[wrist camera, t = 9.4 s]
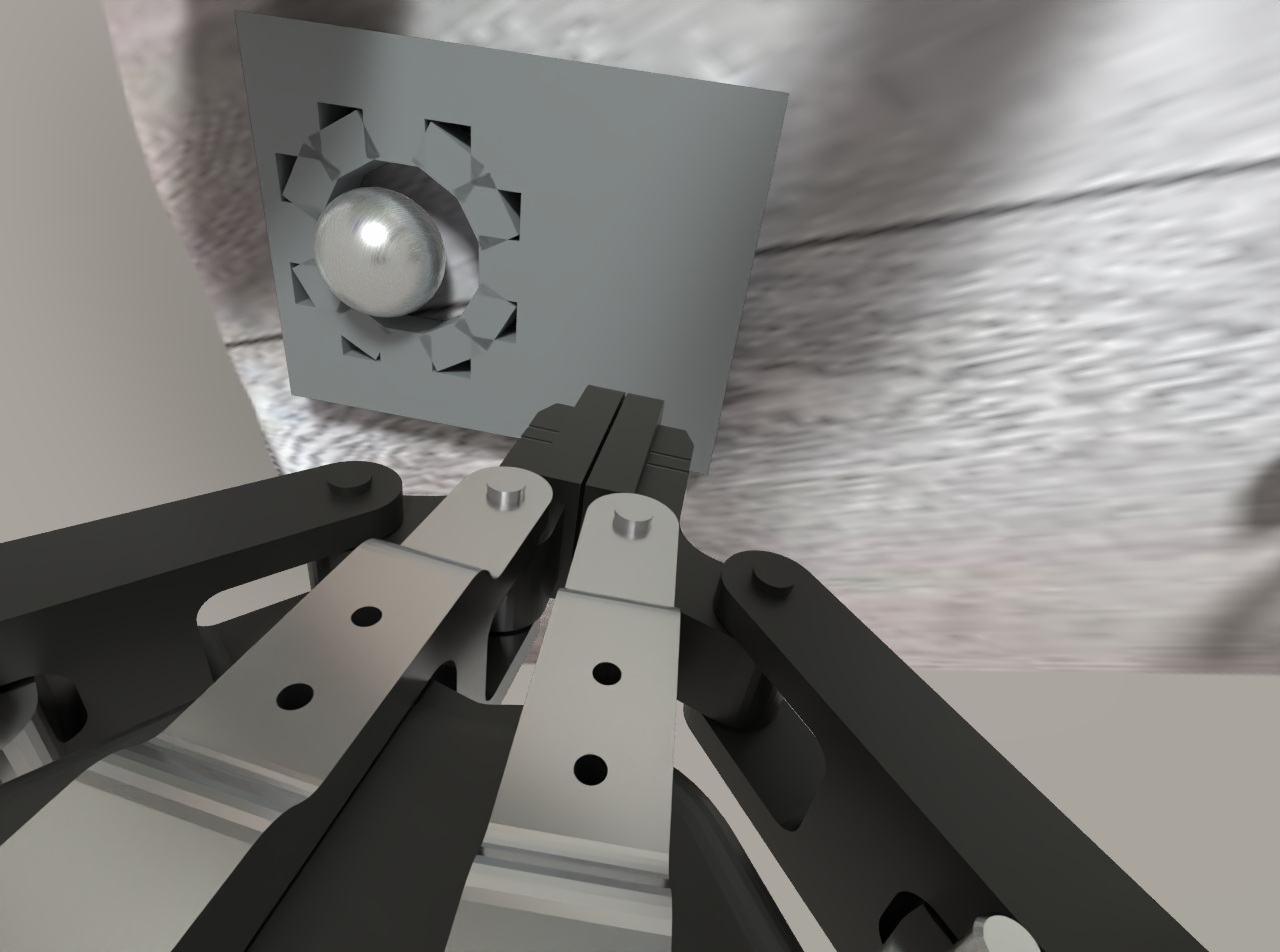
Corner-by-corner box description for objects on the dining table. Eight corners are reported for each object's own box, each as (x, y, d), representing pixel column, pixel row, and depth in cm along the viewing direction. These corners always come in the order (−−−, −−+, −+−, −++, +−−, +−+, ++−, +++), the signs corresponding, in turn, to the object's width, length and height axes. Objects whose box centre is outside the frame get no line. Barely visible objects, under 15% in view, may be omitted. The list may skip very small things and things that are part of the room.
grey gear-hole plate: (271, 17, 30) (234, 10, 28) (786, 95, 28) (789, 93, 26) (317, 379, 39) (291, 394, 37) (710, 453, 37) (707, 474, 35)
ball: (471, 197, 31) (390, 176, 34) (360, 201, 26) (276, 176, 29) (471, 320, 34) (396, 291, 37) (371, 342, 29) (294, 308, 32)
